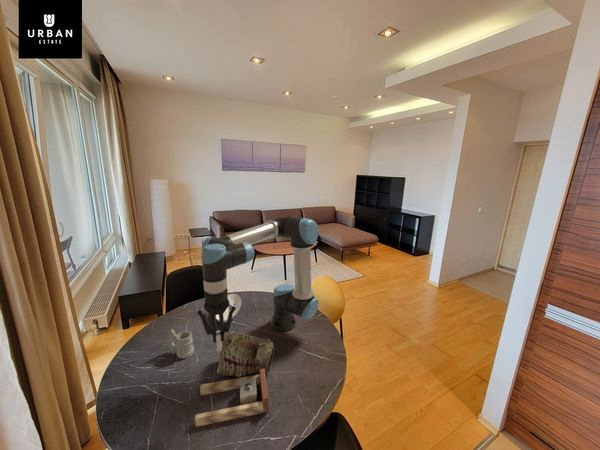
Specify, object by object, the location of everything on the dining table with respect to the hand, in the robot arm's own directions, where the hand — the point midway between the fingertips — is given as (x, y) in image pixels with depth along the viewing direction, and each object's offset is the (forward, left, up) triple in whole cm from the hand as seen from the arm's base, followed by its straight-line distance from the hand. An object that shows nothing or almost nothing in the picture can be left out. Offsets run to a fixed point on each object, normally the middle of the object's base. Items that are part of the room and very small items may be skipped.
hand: (219, 348), depth 89 cm
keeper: (-10, +2, -23) cm, 25 cm away
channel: (-4, +1, -23) cm, 23 cm away
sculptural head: (-9, -15, -23) cm, 29 cm away
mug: (+20, -30, -23) cm, 43 cm away
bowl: (0, -59, -23) cm, 63 cm away
